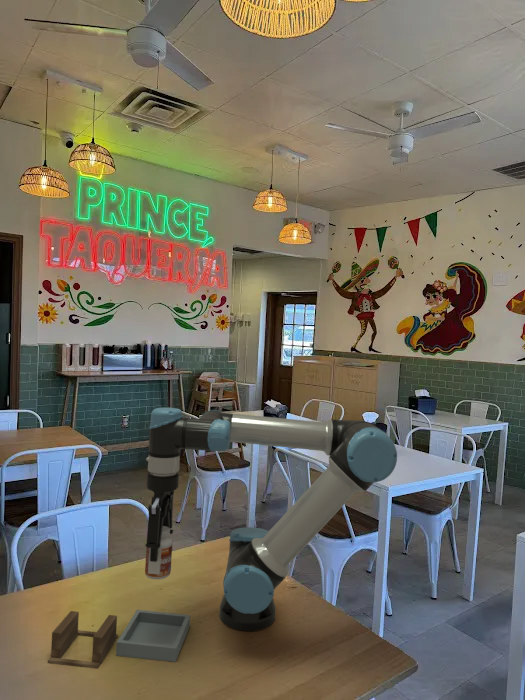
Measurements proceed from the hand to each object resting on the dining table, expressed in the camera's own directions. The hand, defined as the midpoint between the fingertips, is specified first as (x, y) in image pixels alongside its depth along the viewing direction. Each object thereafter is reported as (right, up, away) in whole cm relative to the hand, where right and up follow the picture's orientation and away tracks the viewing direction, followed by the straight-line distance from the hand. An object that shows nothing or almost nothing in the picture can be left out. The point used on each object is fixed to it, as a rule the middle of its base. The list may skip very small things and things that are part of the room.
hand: (158, 566), depth 120 cm
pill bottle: (0, -2, 0) cm, 2 cm away
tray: (-1, -18, 0) cm, 18 cm away
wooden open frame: (-16, -17, -4) cm, 24 cm away
